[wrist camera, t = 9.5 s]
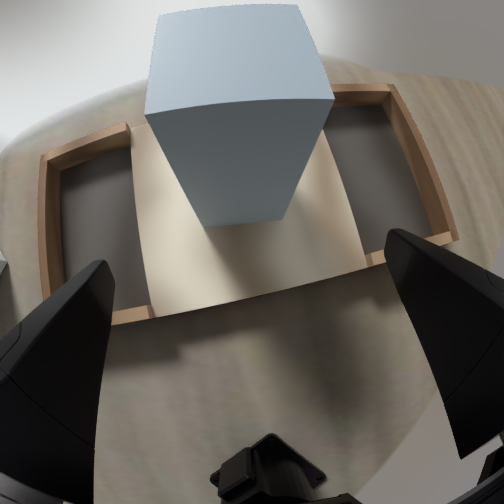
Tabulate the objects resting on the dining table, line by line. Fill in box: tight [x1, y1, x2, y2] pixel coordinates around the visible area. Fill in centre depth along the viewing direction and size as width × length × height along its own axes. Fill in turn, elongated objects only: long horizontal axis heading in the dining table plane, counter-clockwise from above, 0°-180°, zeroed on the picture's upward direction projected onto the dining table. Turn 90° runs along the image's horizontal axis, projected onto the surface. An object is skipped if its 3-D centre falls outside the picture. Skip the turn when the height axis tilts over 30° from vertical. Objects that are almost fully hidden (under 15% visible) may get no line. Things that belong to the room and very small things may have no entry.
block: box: [145, 4, 335, 228], centre depth 13 cm, size 5×5×12 cm
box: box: [38, 84, 459, 326], centre depth 19 cm, size 30×14×3 cm, turn 103°
